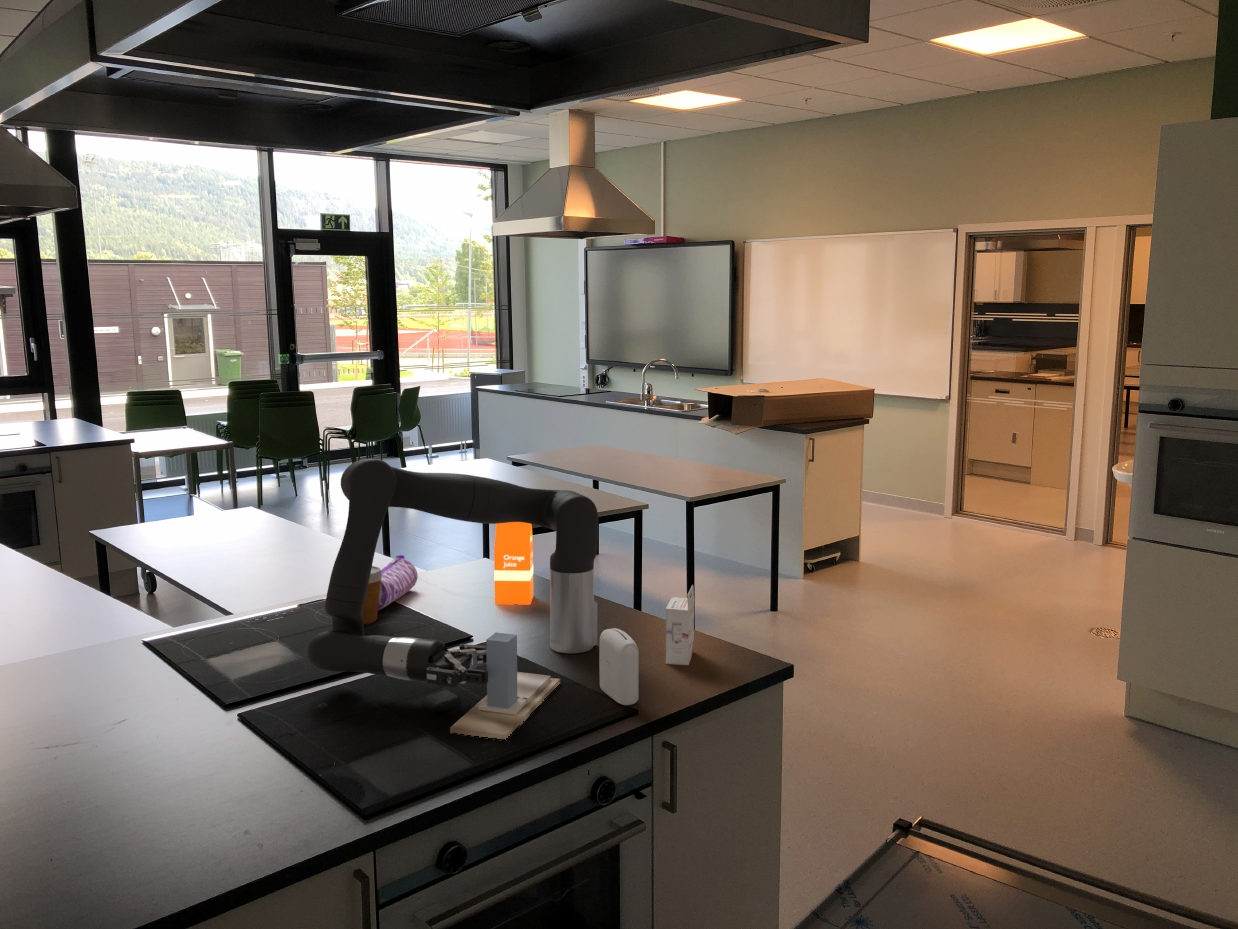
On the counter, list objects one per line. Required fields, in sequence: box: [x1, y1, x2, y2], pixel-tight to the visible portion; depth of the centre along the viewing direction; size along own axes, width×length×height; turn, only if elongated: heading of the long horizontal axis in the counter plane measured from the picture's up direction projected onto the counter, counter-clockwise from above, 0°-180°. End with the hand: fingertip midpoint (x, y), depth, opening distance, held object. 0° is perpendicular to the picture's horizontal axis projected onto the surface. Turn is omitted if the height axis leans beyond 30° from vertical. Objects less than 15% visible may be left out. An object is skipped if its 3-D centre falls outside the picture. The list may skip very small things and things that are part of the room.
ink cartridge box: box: [665, 584, 695, 666], centre depth 191 cm, size 9×5×15 cm, turn 168°
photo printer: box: [598, 628, 639, 706], centre depth 171 cm, size 10×4×12 cm, turn 26°
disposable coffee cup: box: [363, 565, 383, 625], centre depth 214 cm, size 10×10×12 cm
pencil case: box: [378, 554, 418, 611], centre depth 231 cm, size 22×9×10 cm, turn 173°
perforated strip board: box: [449, 671, 561, 741], centre depth 167 cm, size 26×10×2 cm, turn 163°
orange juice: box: [493, 522, 534, 606], centre depth 231 cm, size 8×9×20 cm
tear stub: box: [478, 632, 526, 715], centre depth 163 cm, size 5×7×13 cm
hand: (497, 668), depth 163 cm, fingers open, 8 cm apart
